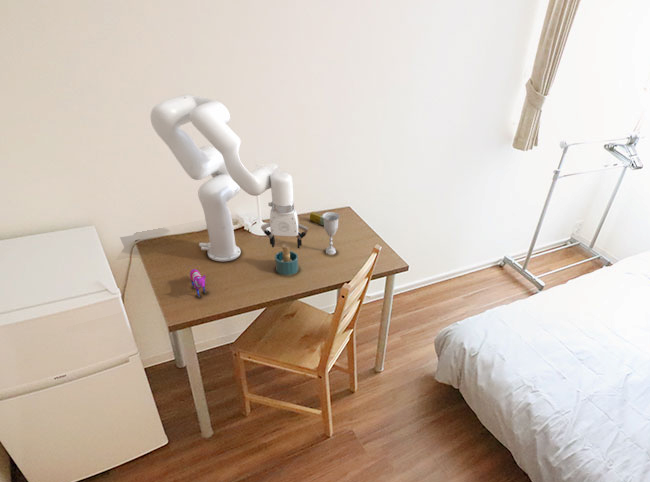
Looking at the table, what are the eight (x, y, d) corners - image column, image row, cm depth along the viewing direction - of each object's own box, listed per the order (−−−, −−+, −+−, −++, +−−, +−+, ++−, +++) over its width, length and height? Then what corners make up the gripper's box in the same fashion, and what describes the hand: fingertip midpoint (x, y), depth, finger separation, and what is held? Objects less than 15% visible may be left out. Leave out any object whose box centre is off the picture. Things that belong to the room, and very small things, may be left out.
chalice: (334, 258, 200) (335, 221, 189) (320, 254, 200) (319, 217, 189) (341, 250, 206) (342, 214, 194) (326, 247, 206) (326, 210, 195)
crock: (274, 275, 184) (273, 262, 180) (277, 263, 191) (276, 250, 186) (297, 276, 186) (296, 263, 182) (299, 264, 192) (298, 251, 188)
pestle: (281, 271, 186) (279, 248, 179) (282, 265, 189) (281, 242, 182) (291, 271, 187) (290, 248, 180) (292, 266, 190) (291, 243, 183)
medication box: (333, 226, 221) (334, 219, 219) (330, 228, 219) (331, 220, 217) (312, 218, 223) (312, 211, 221) (309, 220, 221) (309, 212, 219)
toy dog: (201, 304, 164) (196, 281, 158) (187, 278, 174) (181, 255, 168) (212, 302, 166) (207, 278, 160) (197, 276, 176) (192, 253, 170)
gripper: (257, 209, 166) (261, 250, 176) (306, 212, 169) (308, 252, 180) (260, 200, 171) (264, 240, 182) (308, 203, 175) (309, 242, 186)
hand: (286, 246), depth 181 cm, fingers open, 9 cm apart
